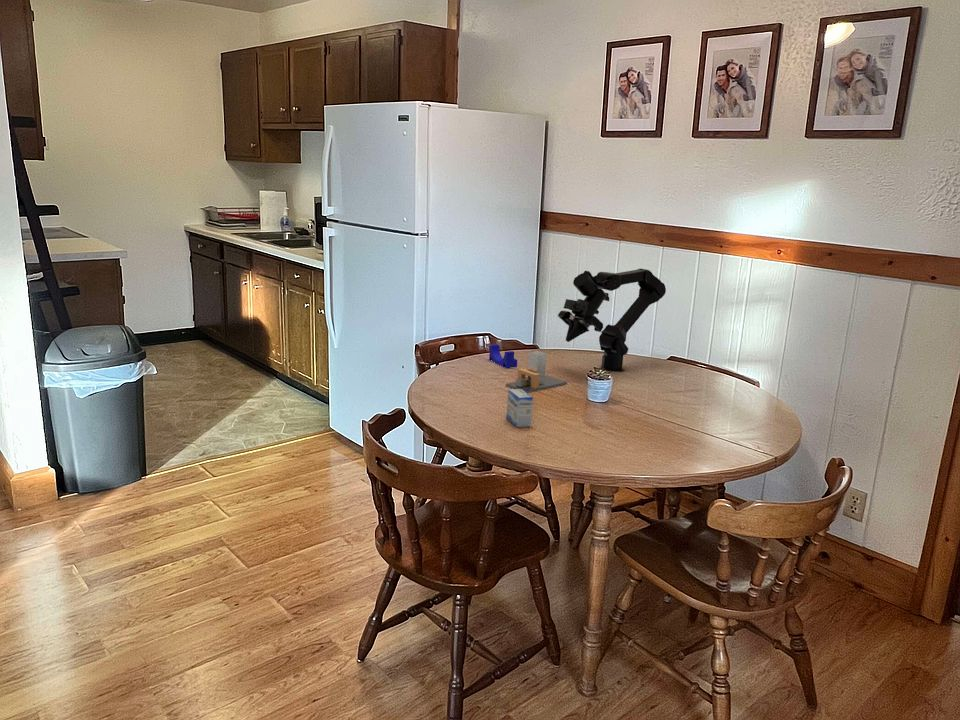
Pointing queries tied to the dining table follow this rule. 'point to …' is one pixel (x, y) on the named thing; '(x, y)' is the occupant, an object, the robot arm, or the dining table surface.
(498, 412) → the dining table surface
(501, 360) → the cable clip
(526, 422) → the medicine box
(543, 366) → the latch
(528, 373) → the lug
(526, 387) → the grey flat plate
